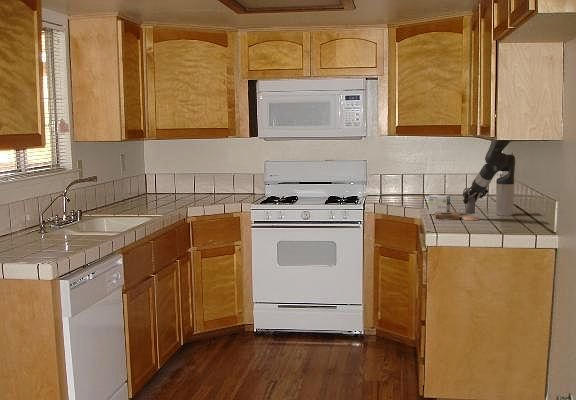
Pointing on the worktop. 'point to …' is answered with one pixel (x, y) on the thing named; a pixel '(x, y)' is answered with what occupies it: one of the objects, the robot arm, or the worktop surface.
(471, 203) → the plug
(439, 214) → the brown wooden square frame
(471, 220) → the orange round disc
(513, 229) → the worktop surface
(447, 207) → the light bulb box
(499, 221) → the worktop surface
